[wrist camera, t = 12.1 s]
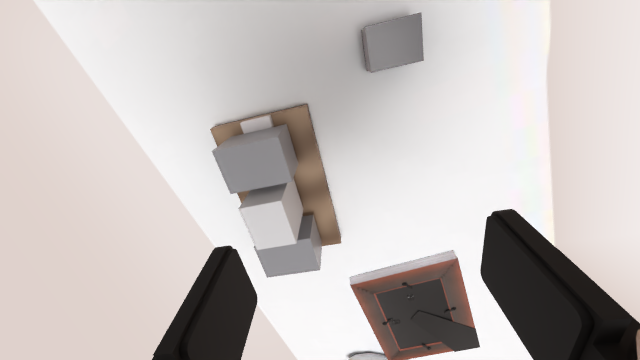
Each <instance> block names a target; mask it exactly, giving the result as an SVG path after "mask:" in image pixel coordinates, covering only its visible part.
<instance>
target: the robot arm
mask: <svg viewBox="0 0 640 360" xmlns="http://www.w3.org/2000/svg"><path fill="white" fill-rule="evenodd" d="M481 276H482V279H483V281H484V283H485V284H486V286H487V287H488V289H489V291H490V292H491V294H492V295H493V297H494V298H495V300H496V302H497V303H498V305H499V306H500V308H501V309H502V311H503V313H504V314H505V316H506V317H507V319H508V320H509V322H510V324H511V325H512V327H513V328H514V330H515V331H516V333H517V335H518V336H519V338H520V339H521V341H522V342H523V344H524V346H525V347H526V349H527V350H528V352H529V353H530V355H531V357H532V358H533V360H640V323H639V322H638V321H636V320H635V319H634V318H633V317H632V316H631V315H630V314H629V313H628V312H627V311H625V310H624V309H623V308H622V307H621V306H620V305H619V304H618V303H617V302H616V301H614V300H613V299H612V298H611V297H610V296H609V295H608V294H607V293H606V292H605V291H604V290H602V289H601V288H600V287H599V286H598V285H597V284H596V283H595V282H594V281H593V280H591V279H590V278H589V277H588V276H587V275H586V274H585V273H584V272H583V271H582V270H580V269H579V268H578V267H577V266H576V265H575V264H574V263H573V262H572V261H571V260H570V259H568V258H567V257H566V256H565V255H564V254H563V253H562V252H561V251H560V250H558V249H557V248H556V247H554V246H553V245H552V244H551V243H550V242H549V241H548V240H547V239H546V238H545V237H543V236H542V235H541V234H540V233H539V232H538V231H537V230H536V229H535V228H534V227H532V226H531V225H530V224H529V223H528V222H527V221H526V220H525V219H524V218H523V217H522V216H520V215H519V214H518V213H517V212H516V211H515V210H513V209H508V210H501V211H494V212H493V213H492V214H491V216H488V217H487V220H486V229H485V237H484V246H483V254H482V263H481ZM256 305H257V294H256V292H255V289H254V287H253V285H252V283H251V281H250V278H249V276H248V274H247V272H246V269H245V267H244V265H243V263H242V261H241V258H240V256H239V254H238V252H237V250H236V249H233V248H232V247H231V246H223V247H216V248H215V249H214V250H213V251H212V253H211V255H210V256H209V258H208V260H207V262H206V264H205V265H204V267H203V269H202V270H201V272H200V274H199V276H198V277H197V279H196V281H195V283H194V284H193V286H192V288H191V290H190V291H189V293H188V295H187V297H186V299H185V300H184V302H183V304H182V305H181V307H180V309H179V311H178V312H177V314H176V316H175V318H174V320H173V321H172V323H171V325H170V326H169V328H168V330H167V331H166V333H165V335H164V337H163V339H162V340H161V342H160V344H159V345H158V347H157V349H156V351H155V353H154V354H153V355H154V357H153V359H152V360H241V357H242V353H243V350H244V346H245V343H246V340H247V336H248V333H249V329H250V326H251V322H252V319H253V315H254V312H255V308H256Z"/></svg>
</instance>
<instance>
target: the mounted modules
mask: <svg viewBox="0 0 640 360" xmlns="http://www.w3.org/2000/svg"><path fill="white" fill-rule="evenodd" d="M212 152H213V155H214V157H215V159H216V162H217V164H218V166H219V168H220V171H221V173H222V175H223V178H224V180H225V182H226V184H227V187H228V189H229V191H230V194H233V193H238V192H243V191H248V190H253V189H258V188H264V187H269V186H274V185H279V184H284V183H289V182H292V181H293V178H294V175H295V172H296V169H297V166H298V161H297V158H296V154H295V151H294V147H293V144H292V141H291V137H290V134H289V131H288V127H287V124H284V125H280V126H276V127H271V128H267V129H263V130H258V131H254V132H250V133H245V134H241V135H237V136H232V137H229V138H228V139H227V140H226V141H224V142H223V143H222V144H221V145H219V146H218V147H217V148H216V149H214V150H213V151H212ZM254 248H255V251H256V253H257V255H258V258H259V260H260V262H261V264H262V267H263V269H264V271H265V274H266V276H267V277H274V276H281V275H288V274H295V273H302V272H309V271H316V270H320V264H321V250H322V242H321V239H320V235H319V232H318V229H317V225H316V222H315V218H314V215H308V216H302V219H301V223H300V228H299V233H298V238H297V243H296V244H291V245H285V246H279V247H273V248H267V249H261V250H257V249H256V247H255V246H254Z"/></svg>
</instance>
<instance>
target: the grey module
mask: <svg viewBox="0 0 640 360" xmlns="http://www.w3.org/2000/svg"><path fill="white" fill-rule="evenodd" d="M239 211H240V213H241V216H242V218H243V220H244V222H245V225H246V227H247V229H248V231H249V234H250V236H251V238H252V240H253V243H254V245H255V247H256V249H257V250H261V249H267V248H273V247H279V246H285V245H291V244H296V243H297V238H298V233H299V228H300V223H301V219H302V214H303V206H302V203H301V200H300V197H299V194H298V190H297V187H296V184H295V181H294V178H293V181H292V182H289V183H284V184H279V185H274V186H269V187H264V188H258V189H253V190H250V191H249V193H248V195H247V196H246V198H245V199H244V201H243V203H242V204H241V206H240V207H239Z"/></svg>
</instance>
